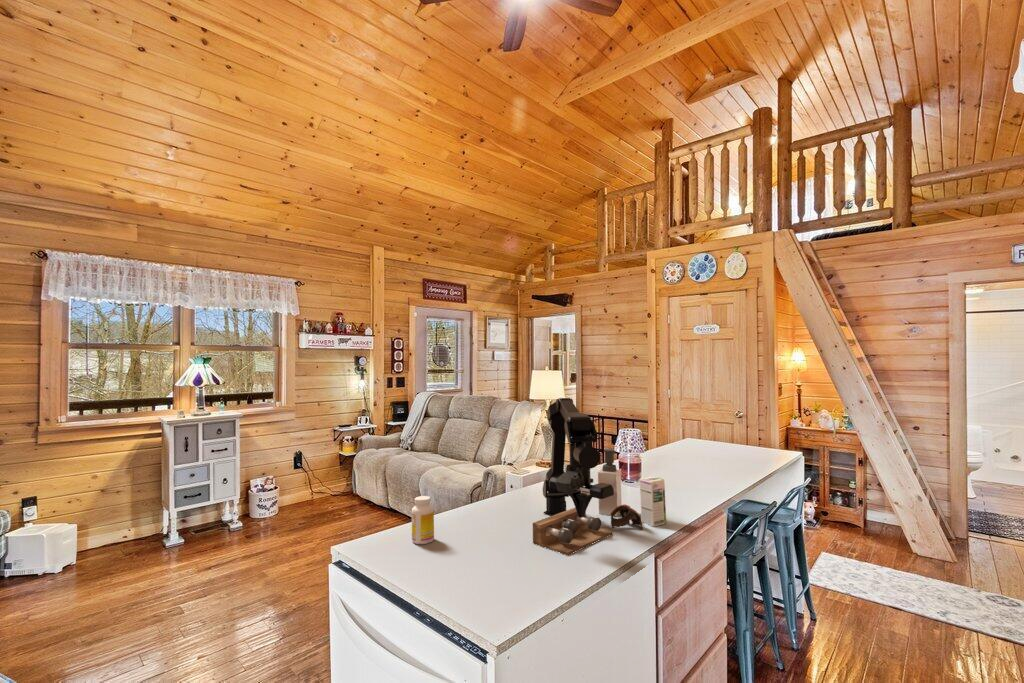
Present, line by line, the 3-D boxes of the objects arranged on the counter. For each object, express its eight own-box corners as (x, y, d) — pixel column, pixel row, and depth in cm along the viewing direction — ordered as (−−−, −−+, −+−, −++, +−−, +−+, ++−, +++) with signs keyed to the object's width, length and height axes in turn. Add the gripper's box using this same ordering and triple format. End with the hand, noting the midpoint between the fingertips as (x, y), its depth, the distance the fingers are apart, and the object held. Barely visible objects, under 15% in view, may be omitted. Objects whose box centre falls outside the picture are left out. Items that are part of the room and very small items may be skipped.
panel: (533, 543, 140) (532, 522, 140) (578, 524, 155) (578, 506, 156) (567, 555, 131) (567, 533, 131) (612, 534, 146) (611, 514, 146)
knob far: (573, 526, 149) (573, 513, 150) (580, 523, 152) (580, 511, 152) (594, 532, 144) (593, 519, 144) (601, 529, 146) (600, 516, 147)
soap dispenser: (623, 509, 171) (621, 447, 172) (617, 516, 163) (615, 452, 164) (605, 507, 174) (603, 446, 175) (599, 514, 166) (597, 450, 167)
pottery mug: (648, 534, 147) (636, 513, 145) (620, 547, 148) (608, 526, 147) (639, 513, 159) (628, 493, 157) (614, 524, 160) (603, 504, 159)
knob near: (543, 538, 140) (543, 524, 140) (552, 534, 142) (552, 521, 142) (564, 545, 134) (564, 531, 134) (573, 541, 137) (572, 527, 137)
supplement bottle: (438, 538, 146) (437, 495, 146) (427, 546, 139) (426, 501, 140) (418, 535, 148) (418, 494, 148) (407, 543, 141) (407, 500, 142)
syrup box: (653, 527, 152) (652, 481, 153) (640, 522, 157) (639, 477, 158) (666, 524, 154) (665, 479, 155) (653, 519, 160) (652, 475, 160)
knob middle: (550, 529, 147) (550, 516, 147) (558, 526, 150) (557, 513, 150) (570, 535, 141) (570, 522, 142) (578, 532, 144) (577, 519, 144)
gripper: (536, 461, 134) (537, 516, 134) (589, 470, 121) (591, 532, 120) (561, 455, 142) (562, 507, 141) (614, 463, 129) (615, 522, 128)
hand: (581, 517), depth 133 cm, fingers closed
